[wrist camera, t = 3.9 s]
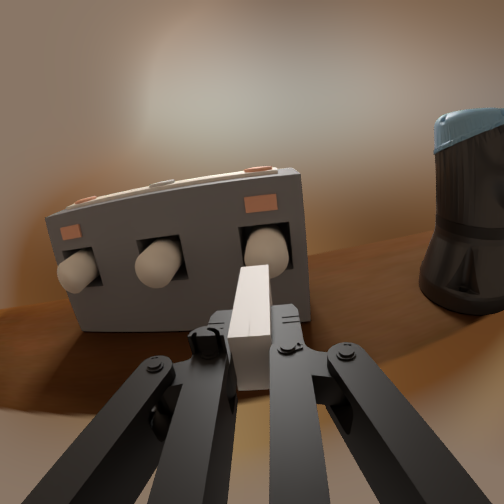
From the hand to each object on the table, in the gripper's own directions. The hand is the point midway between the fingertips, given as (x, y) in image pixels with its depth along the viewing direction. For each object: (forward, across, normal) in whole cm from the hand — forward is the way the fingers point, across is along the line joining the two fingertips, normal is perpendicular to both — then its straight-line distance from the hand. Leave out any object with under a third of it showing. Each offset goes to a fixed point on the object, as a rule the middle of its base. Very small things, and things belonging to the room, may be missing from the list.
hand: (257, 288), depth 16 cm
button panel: (+18, -11, -11) cm, 23 cm away
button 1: (+13, -22, -4) cm, 26 cm away
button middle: (+13, -11, -4) cm, 17 cm away
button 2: (+13, 0, -4) cm, 14 cm away
